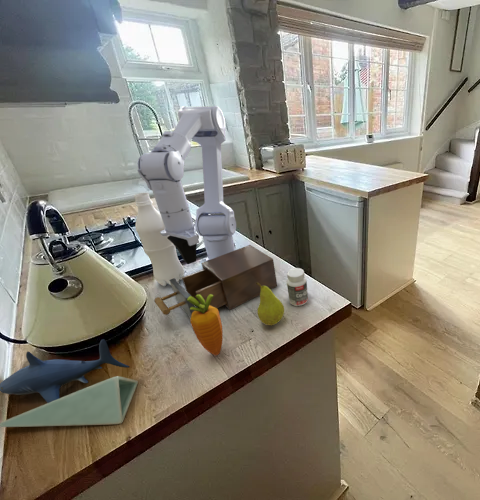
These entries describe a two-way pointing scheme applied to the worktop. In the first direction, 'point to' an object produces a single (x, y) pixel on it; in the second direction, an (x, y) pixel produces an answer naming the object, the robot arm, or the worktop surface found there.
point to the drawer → (194, 292)
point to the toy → (53, 374)
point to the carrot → (207, 324)
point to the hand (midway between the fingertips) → (191, 261)
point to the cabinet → (242, 274)
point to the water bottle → (156, 242)
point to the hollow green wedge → (82, 406)
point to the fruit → (269, 307)
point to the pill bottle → (297, 287)
